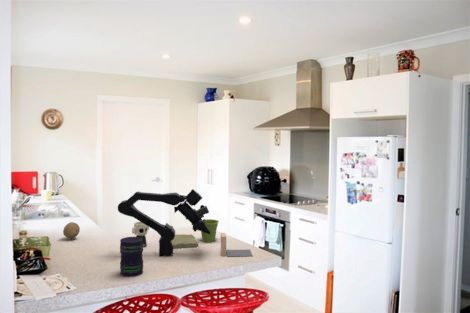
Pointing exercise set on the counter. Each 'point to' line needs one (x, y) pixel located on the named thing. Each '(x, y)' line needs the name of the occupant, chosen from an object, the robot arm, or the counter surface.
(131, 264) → the storage jar
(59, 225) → the counter surface
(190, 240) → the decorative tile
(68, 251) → the counter surface
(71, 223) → the natural sponge
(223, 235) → the tile
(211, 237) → the plant pot
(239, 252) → the mat
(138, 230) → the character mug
